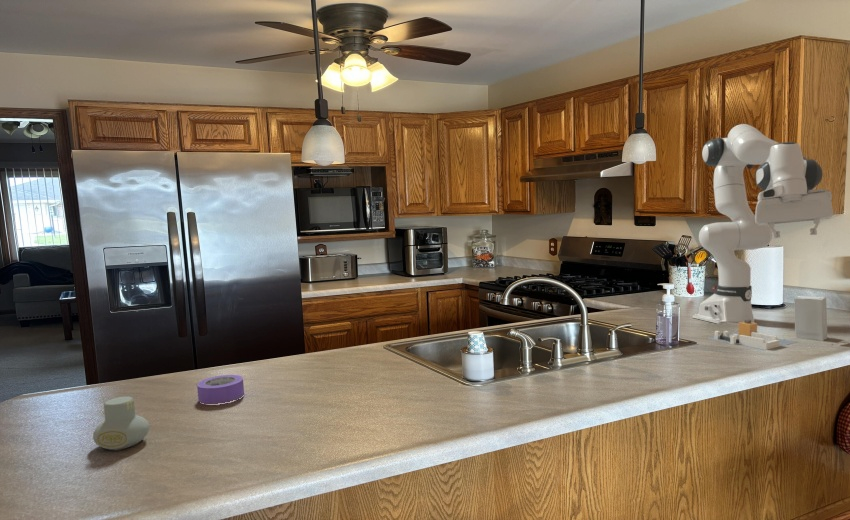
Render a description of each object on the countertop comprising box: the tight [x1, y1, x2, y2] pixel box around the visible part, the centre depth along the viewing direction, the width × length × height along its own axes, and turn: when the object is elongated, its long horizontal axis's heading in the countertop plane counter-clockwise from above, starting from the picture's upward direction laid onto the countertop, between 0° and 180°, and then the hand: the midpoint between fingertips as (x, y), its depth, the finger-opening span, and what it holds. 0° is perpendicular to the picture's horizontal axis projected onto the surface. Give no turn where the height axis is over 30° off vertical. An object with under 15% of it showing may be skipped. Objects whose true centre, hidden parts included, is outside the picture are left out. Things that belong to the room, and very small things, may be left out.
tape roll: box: [196, 374, 245, 404], centre depth 157 cm, size 12×12×5 cm
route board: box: [706, 330, 798, 351], centre depth 193 cm, size 20×18×4 cm
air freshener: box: [92, 396, 150, 451], centre depth 127 cm, size 11×8×10 cm
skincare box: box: [793, 295, 828, 342], centre depth 193 cm, size 8×6×15 cm
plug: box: [737, 320, 758, 337], centre depth 197 cm, size 4×4×6 cm
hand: (795, 236), depth 177 cm, fingers open, 8 cm apart
